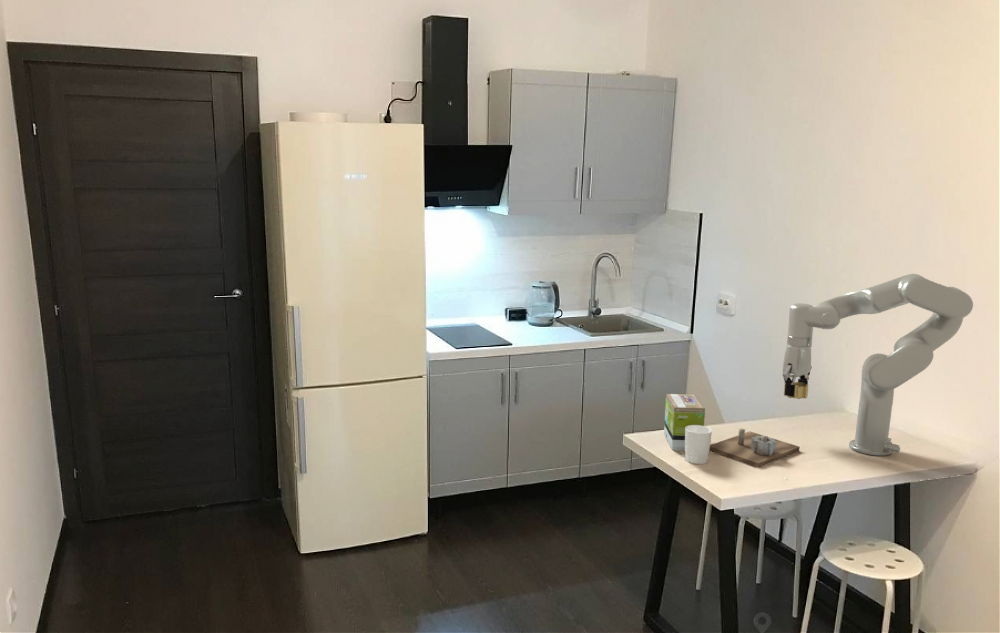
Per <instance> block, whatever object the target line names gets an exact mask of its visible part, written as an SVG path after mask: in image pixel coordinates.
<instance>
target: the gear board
mask: <svg viewBox="0 0 1000 633" xmlns="http://www.w3.org/2000/svg"><path fill="white" fill-rule="evenodd" d="M757 435H758V436H761V441H767V436H768V435H763V434H760V433H756V432H753V431H747V432H746V429H744V428H739V429H738V435H735V436H732V437H730V438H726V439H724V440H721V441H717V442H715V443H712V444H710V449H709V452H710V453H714V454H717V455H719V456H722V457H725V458H728V459H731V460H734V461H737V462H739V463H742V464H746V465H748V466H750V467H754V468H757V469H759V468H760V467H764V466H766V465H768V464H771V463H774V462H776V461H778V459H779V460H781V459H783V458H785V457H788V456H791V455H794V454H795V453H798V452H800V446H798V445H795V444H792V443H788V442H786V441H782V440H779V439H777V438H774V439H775V441H777V445H776V454H773V455H772V456H768V455H763V456H762V455H760V454H757V453H753V452H752V450H751V440H752V437H756V436H757Z"/></svg>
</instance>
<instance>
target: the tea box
mask: <svg viewBox="0 0 1000 633" xmlns="http://www.w3.org/2000/svg"><path fill="white" fill-rule="evenodd" d="M705 412H706V408H705V406H704V405H703V404H702V402H701V401H700V399H699V398H698V397H697V395H696V394H693V393H690V394H689V393H688V394H686V393H684V394H681V393H679V394H678V393H666V394H665V409H664V428H663V434H664V437H665V438H666V440H667V443H668V445H669V447H670V448H671V451H683V452H685V427H686V426H689V425H700V426H705V415H706V413H705Z"/></svg>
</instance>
